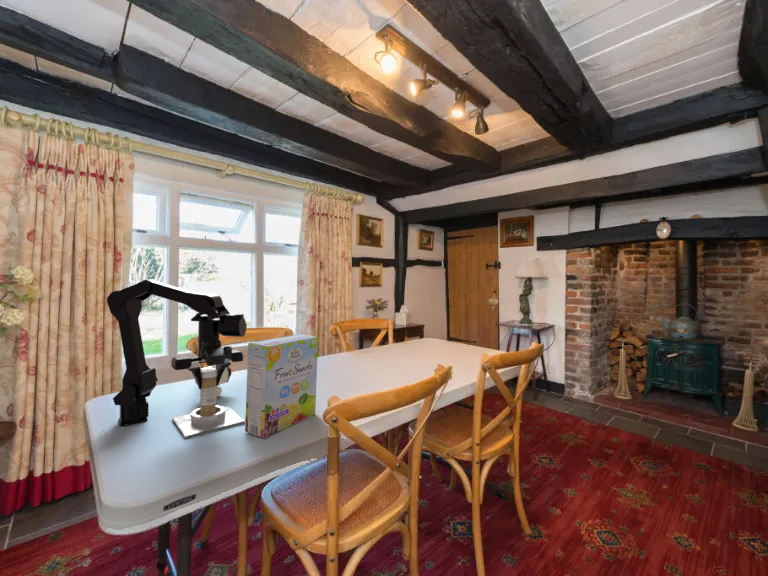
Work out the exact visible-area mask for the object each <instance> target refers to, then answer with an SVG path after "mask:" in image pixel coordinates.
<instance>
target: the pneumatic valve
mask: <svg viewBox="0 0 768 576" xmlns="http://www.w3.org/2000/svg"><path fill="white" fill-rule="evenodd" d="M200 368H201V370H204V369H215V365H213V366H206V367H200ZM231 376H232V369H231V368H230V365H229V366H227V367H226V368H225V370H224V372H223V374H222V376H221V379H220V381H219V384H218V386H216V398H218V397H221V396H222V391H223V389H222V387H221V385H224V384H226V383H229V380H230V377H231ZM194 380H195V379H194ZM195 384H196V385H197V382H196V380H195Z"/></svg>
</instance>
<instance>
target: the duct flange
mask: <svg viewBox="0 0 768 576" xmlns="http://www.w3.org/2000/svg"><path fill="white" fill-rule="evenodd" d="M172 422H173V424H174V425H175V426H176V428H177V430H179V432H180V433H181V435H182V437H183V438H184V439H185V440H186V439H189V438H190V439H191V438H195V437H198V436H202V435H206V434H210V433H214V432H218V431H221V430H225V429H229V428H232V427H236V426H242V425H245V419H243V418H242V417H241V416H240V415H239V414H238V413H237V412H235V411H234V409H232V408H230V406H228V405H225V406H222V405H216V413H215V414H212V415H206V416H201V415H200V407H199V408H195V409H194V410H192V411H191V413H188V414H183V415H179V416H173V417H172Z"/></svg>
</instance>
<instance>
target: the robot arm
mask: <svg viewBox="0 0 768 576" xmlns="http://www.w3.org/2000/svg"><path fill="white" fill-rule="evenodd" d="M151 296H156V297H160V298H163V299H166V300H170V301H172V302H177V303H179V304H183V305H185V306H187V307H188V308H190V309H191V310H193V311H194V312H196V314H195V315H194V316H193V317H192V318H190V321H191V322H198V329H197V331H198V338H197V343H198V344H197V345H198V347H197V352H196V353H197V354H196V355H197V357H190V356H189V355H180V356H179V355H178V356H173V357H172V358H171V361H170V363H171V364H170V365H171V366H170V367H172V368H173V369H174V370H175V371H181V370H188V371H189V372H191V373H192V376H193V377H194V380H196V382H197V384H196V385H197V386H198V389H199V390H200V389H201V387H202V383H201V368H202V367H200V364H206V365H207V367H210V366H213V365H215V369H216V370H217V377H216V386H217V387H219V386H218V384H219V381H220V379H221V376H222V374H223V372H224V370H225V368H226V367H227V366H229V367H230V366H231V365H232V363H238V362H239V363H240V362H243V361H244V354H243V352H242V351H240V350H238V349H233V347H232V346H231V345H227V346H226V345H225V346H222V341H221V339H220V337H221V336H222V337H228V338H229V337H235V338H237V337H241V338H243V337H245V336H246V333H247V328H248V327H247V325H248V324H247V322H246V319H245V318H244V317H245V315H244V314H243V313H238V314H231V313H230V312H229V310H228V308H227V307H226V306H225V305H224V303H223V302H224V301H223V299H222V296H221V295H218V294H215V293H208V292H207V293H206V292H197V291H191V290H188V289H184V288H181V287H177V286H174V285H171V284H167V283H164V282H161V281H158V280H157V279H142V280H141V281H139V282H138V283H135V284H133V285H129V286H127V287H125V288H122V289H120V290H114V291H112V292H110V293H109V295H108V296H107V297H106V303H107V306H108V309H109V313H110V314H111V315H112V316H113V317H114V319H115V320H117V323H118V328H119V329H118V330H119V333H120V339H121V345H122V351H123V357H124V362H125V367H126V369H125V371H124V375H123V378H122V379H121V380H122V381H121V383H122V389H121V390H120V391H119V392H118V393H117V394H116V395H115V396H114V397H113V398H112V400H113V402H114V405H115V406H119V418H118V423H119V425H120V427H125V426H129V425H133V424H140V423H143V422H147V421H148V418H149V402H148V401H147V397H150V396H151V394H152V391H154V390H155V388H156V386H157V381H159V379H158V378H157V370H156V368H151V367H149V366H148V364H147V362H146V355H145V350H144V343H143V339H142V333H141V327H140V321H139V317H140V314H141V312H142V307H143V302H144V301H146V300H148V299H149V298H150V297H151ZM220 335H221V336H220ZM230 361H231V362H232V363H231V362H230ZM196 382H195V383H196Z"/></svg>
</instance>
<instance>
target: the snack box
mask: <svg viewBox="0 0 768 576" xmlns="http://www.w3.org/2000/svg"><path fill="white" fill-rule="evenodd" d="M247 344H248V346H247V366H246V367H247V368H246V370H247V371H246V372H247V373H246V394H245V396H246V398H245V419H244V420H245V424H244V432H246V433H248V434H251V435H253V436H255V437H259V438H262V439H265V438H267V437H270V436H271V435H274V434H276V433H278V432H281V431H282V430H284V429H287V428H288V427H291V426H293V425H295V424H297V423H299V422H301V421H303V420H306V419H307V418H310V417H312V416H314V415H316V407H317V406H316V404H317V376H318V374H317V373H318V354H319V353H318V350H319V337H317V336H314V335H307V334H301V333H300V334H296V335H295V334H294V335H289V336H282V337H277V338H270V339H264V340H259V341H253V342H248V343H247Z"/></svg>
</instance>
